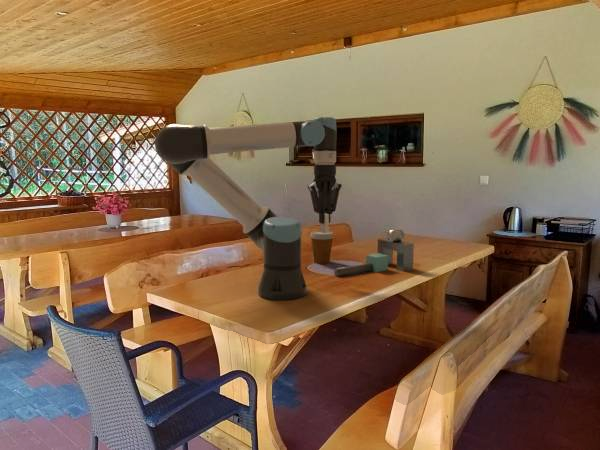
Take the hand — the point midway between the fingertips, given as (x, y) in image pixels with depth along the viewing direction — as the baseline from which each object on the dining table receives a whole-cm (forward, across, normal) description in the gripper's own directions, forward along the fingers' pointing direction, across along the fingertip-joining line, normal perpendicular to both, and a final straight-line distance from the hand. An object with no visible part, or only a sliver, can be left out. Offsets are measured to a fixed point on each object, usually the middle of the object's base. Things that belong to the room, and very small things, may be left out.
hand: (324, 232), depth 170 cm
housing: (+17, +33, 0) cm, 37 cm away
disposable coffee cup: (+17, +14, +22) cm, 31 cm away
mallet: (+16, +16, 0) cm, 23 cm away
